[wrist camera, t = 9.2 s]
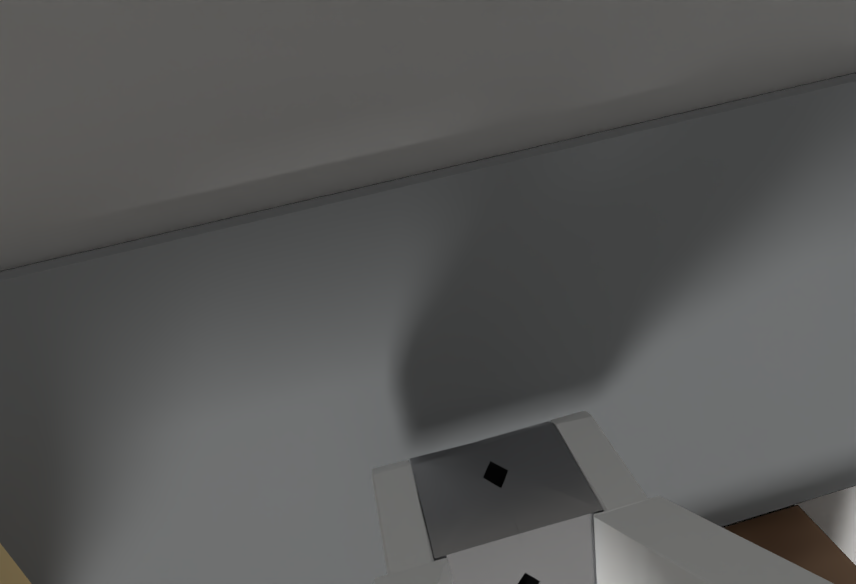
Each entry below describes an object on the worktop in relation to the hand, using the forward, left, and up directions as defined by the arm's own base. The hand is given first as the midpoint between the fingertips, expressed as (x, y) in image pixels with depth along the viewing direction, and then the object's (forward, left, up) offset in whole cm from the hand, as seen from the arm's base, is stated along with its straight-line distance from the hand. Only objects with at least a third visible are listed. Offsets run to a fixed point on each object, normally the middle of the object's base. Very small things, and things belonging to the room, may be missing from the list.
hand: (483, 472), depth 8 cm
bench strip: (+3, 0, -1) cm, 3 cm away
